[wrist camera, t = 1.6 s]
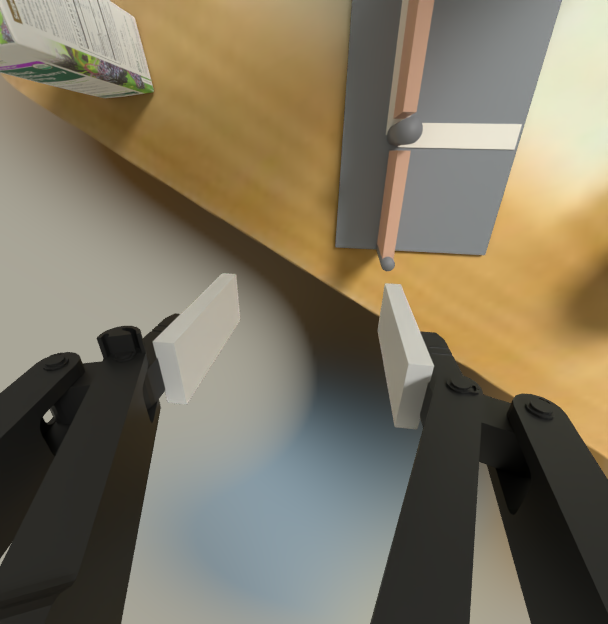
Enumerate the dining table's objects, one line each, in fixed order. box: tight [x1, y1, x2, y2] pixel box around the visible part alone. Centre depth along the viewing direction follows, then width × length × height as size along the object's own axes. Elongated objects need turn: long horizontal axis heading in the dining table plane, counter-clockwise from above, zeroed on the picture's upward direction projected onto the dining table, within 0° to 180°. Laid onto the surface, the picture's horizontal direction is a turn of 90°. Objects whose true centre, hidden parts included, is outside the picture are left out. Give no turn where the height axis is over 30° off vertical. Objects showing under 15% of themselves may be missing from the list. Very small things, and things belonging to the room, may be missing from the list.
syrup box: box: [0, 0, 154, 98], centre depth 23 cm, size 6×6×14 cm
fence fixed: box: [387, 0, 434, 146], centre depth 23 cm, size 12×2×7 cm, turn 179°
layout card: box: [335, 0, 562, 255], centre depth 29 cm, size 22×16×1 cm
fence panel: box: [376, 150, 411, 271], centre depth 29 cm, size 10×1×6 cm, turn 179°
